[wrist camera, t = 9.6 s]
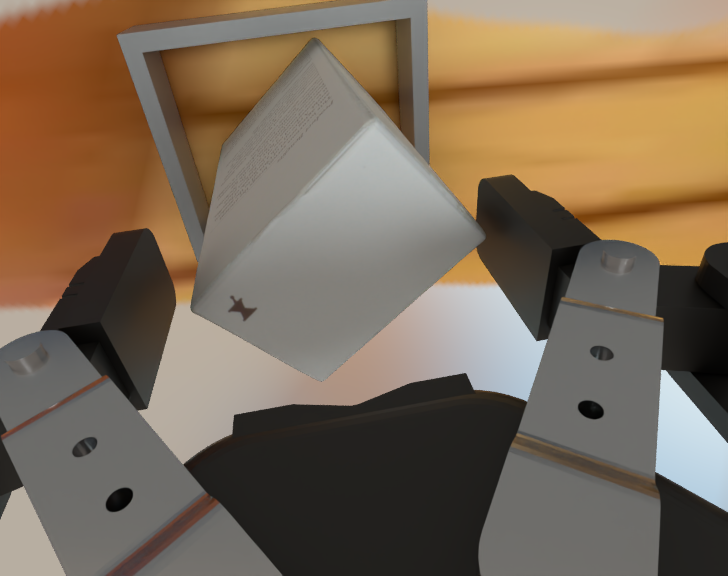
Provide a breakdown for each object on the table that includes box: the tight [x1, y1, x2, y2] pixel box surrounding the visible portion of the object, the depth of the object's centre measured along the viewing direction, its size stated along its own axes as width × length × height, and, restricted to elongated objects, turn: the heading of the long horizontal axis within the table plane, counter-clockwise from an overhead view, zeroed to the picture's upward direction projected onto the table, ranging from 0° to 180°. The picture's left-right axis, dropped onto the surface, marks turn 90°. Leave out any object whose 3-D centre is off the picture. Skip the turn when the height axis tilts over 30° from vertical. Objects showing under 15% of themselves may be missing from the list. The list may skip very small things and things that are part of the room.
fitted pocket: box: [117, 0, 429, 262], centre depth 19 cm, size 10×9×2 cm
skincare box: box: [191, 38, 486, 382], centre depth 16 cm, size 6×4×12 cm
